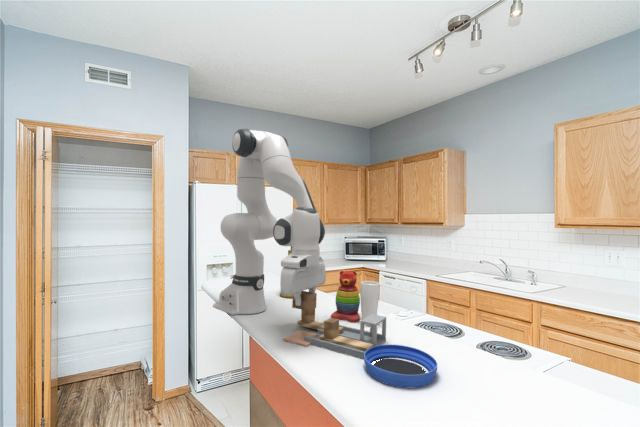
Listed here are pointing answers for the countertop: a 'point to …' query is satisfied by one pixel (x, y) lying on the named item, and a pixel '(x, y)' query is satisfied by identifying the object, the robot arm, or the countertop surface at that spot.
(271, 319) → the countertop surface
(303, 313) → the strip far
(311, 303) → the walnut block
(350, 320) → the stacking bear
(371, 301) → the drinking glass
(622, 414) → the countertop surface
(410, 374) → the blue round shallow tray
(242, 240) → the robot arm
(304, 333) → the coaster
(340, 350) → the lane board
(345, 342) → the strip near
